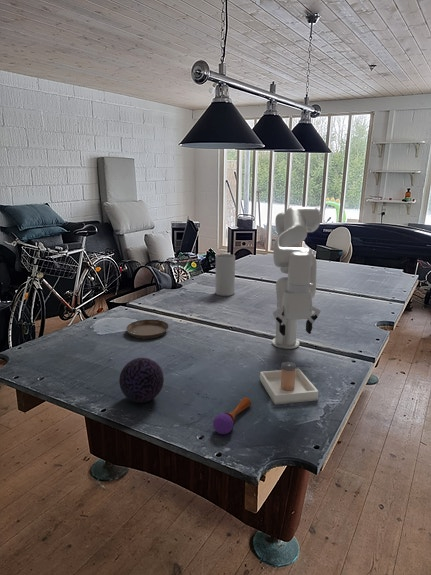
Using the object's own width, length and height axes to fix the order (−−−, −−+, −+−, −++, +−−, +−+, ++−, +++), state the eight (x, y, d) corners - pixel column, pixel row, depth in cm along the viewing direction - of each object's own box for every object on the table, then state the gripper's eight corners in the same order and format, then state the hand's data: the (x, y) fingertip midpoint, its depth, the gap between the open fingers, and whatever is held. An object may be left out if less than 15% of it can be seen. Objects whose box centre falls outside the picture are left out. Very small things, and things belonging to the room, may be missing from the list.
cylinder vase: (237, 292, 272) (238, 255, 266) (228, 297, 262) (228, 258, 255) (221, 289, 279) (222, 253, 272) (211, 294, 268) (211, 256, 262)
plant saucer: (161, 342, 192) (160, 336, 192) (119, 339, 196) (119, 332, 195) (174, 327, 212) (174, 321, 211) (136, 324, 216) (135, 318, 215)
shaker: (278, 384, 152) (279, 362, 150) (291, 383, 153) (292, 361, 151) (283, 391, 147) (284, 368, 145) (297, 390, 148) (298, 367, 146)
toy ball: (166, 388, 151) (164, 350, 147) (162, 410, 137) (160, 369, 133) (124, 388, 151) (122, 350, 147) (116, 411, 136) (114, 370, 132)
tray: (259, 380, 157) (260, 371, 156) (298, 376, 160) (299, 368, 159) (274, 404, 141) (275, 395, 140) (317, 400, 144) (318, 391, 143)
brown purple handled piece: (256, 398, 138) (229, 424, 121) (252, 413, 139) (225, 441, 122) (240, 390, 140) (212, 415, 123) (237, 405, 142) (208, 432, 125)
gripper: (317, 283, 148) (314, 327, 153) (271, 285, 145) (269, 330, 150) (326, 289, 141) (322, 335, 146) (277, 291, 138) (275, 339, 143)
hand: (295, 333), depth 148 cm, fingers open, 9 cm apart
